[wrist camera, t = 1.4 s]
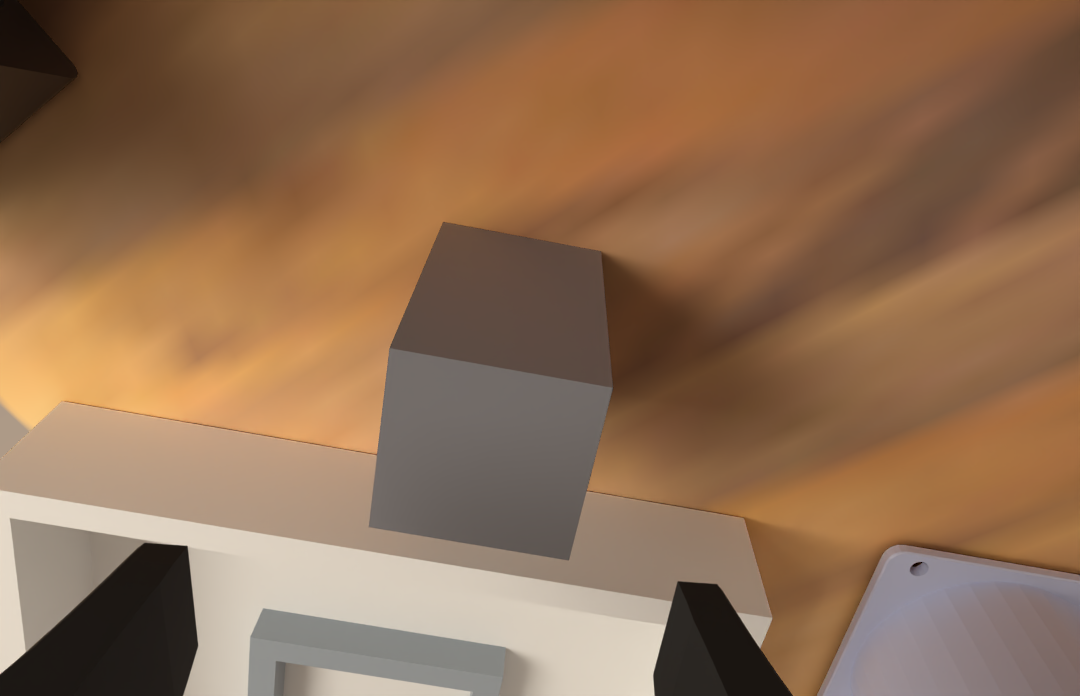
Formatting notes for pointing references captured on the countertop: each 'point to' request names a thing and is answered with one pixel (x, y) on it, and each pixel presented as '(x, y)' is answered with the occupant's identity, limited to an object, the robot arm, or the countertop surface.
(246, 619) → the box
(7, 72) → the phone stand
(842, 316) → the countertop surface
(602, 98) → the countertop surface
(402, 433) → the grey rectangular block
